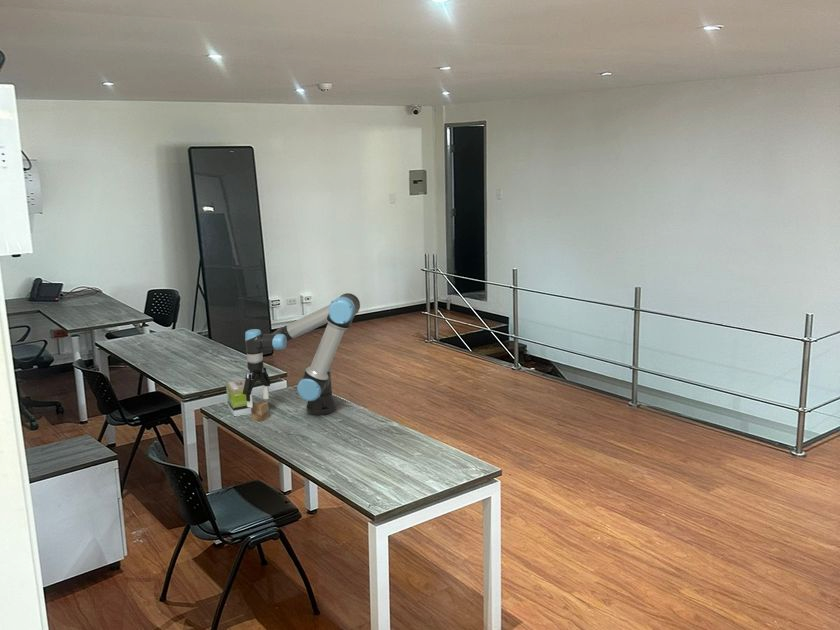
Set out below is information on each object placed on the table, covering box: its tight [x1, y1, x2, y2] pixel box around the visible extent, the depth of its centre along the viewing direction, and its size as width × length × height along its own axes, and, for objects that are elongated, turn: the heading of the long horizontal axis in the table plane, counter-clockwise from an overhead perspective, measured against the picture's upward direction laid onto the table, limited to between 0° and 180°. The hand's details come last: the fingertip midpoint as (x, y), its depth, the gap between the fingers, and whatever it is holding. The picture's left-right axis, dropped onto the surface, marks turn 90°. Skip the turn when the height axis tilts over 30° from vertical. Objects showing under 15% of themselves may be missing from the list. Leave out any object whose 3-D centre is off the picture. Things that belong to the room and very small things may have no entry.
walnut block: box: [250, 401, 270, 422], centre depth 373 cm, size 6×6×8 cm
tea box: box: [225, 379, 252, 417], centre depth 385 cm, size 15×10×15 cm
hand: (258, 403), depth 372 cm, fingers open, 13 cm apart
